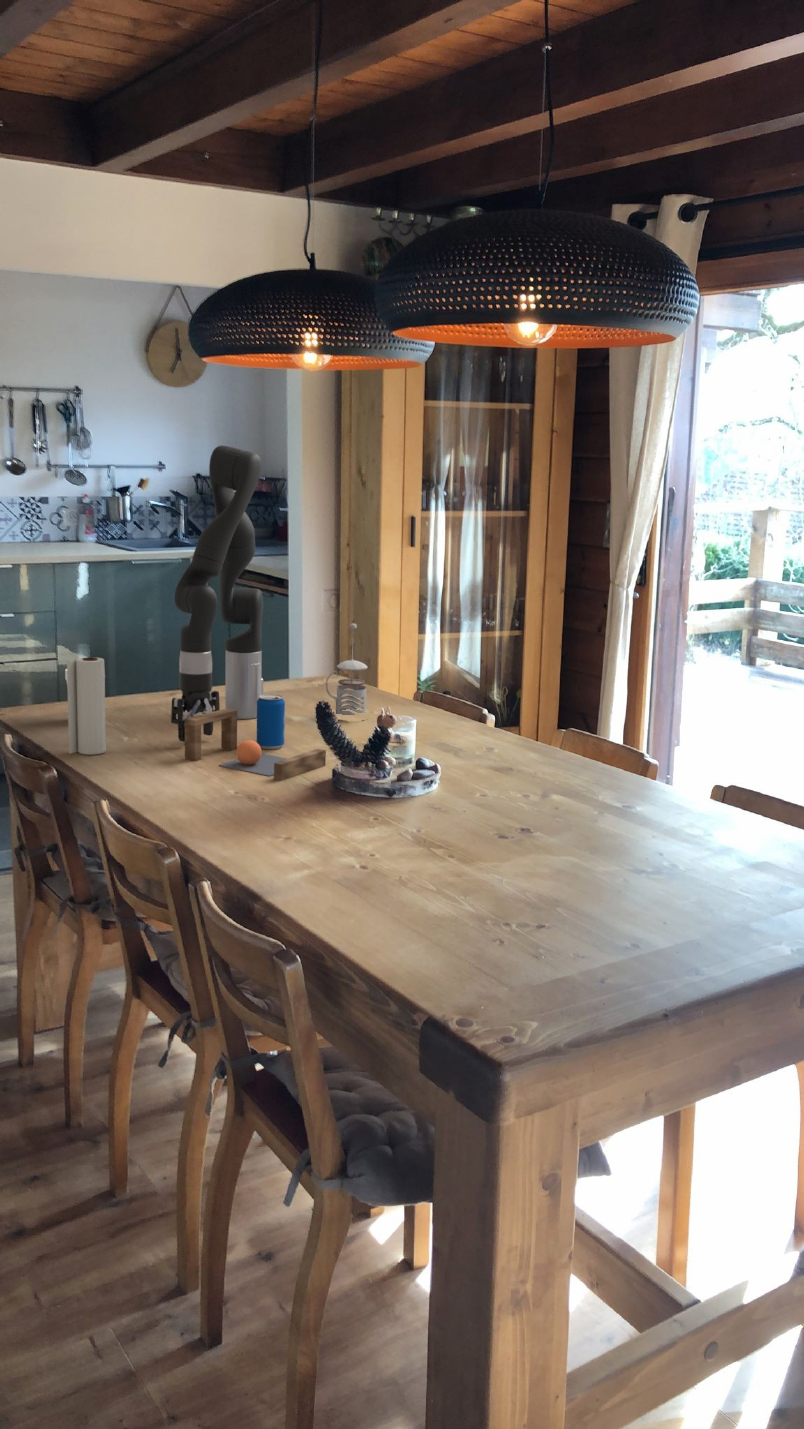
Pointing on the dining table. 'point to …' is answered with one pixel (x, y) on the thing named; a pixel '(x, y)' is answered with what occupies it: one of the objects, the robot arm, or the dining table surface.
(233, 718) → the bridge
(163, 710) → the dining table surface
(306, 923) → the dining table surface
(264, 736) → the beverage can
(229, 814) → the dining table surface
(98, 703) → the paper towel roll
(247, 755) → the ball
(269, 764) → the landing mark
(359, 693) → the french press
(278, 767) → the stopper
